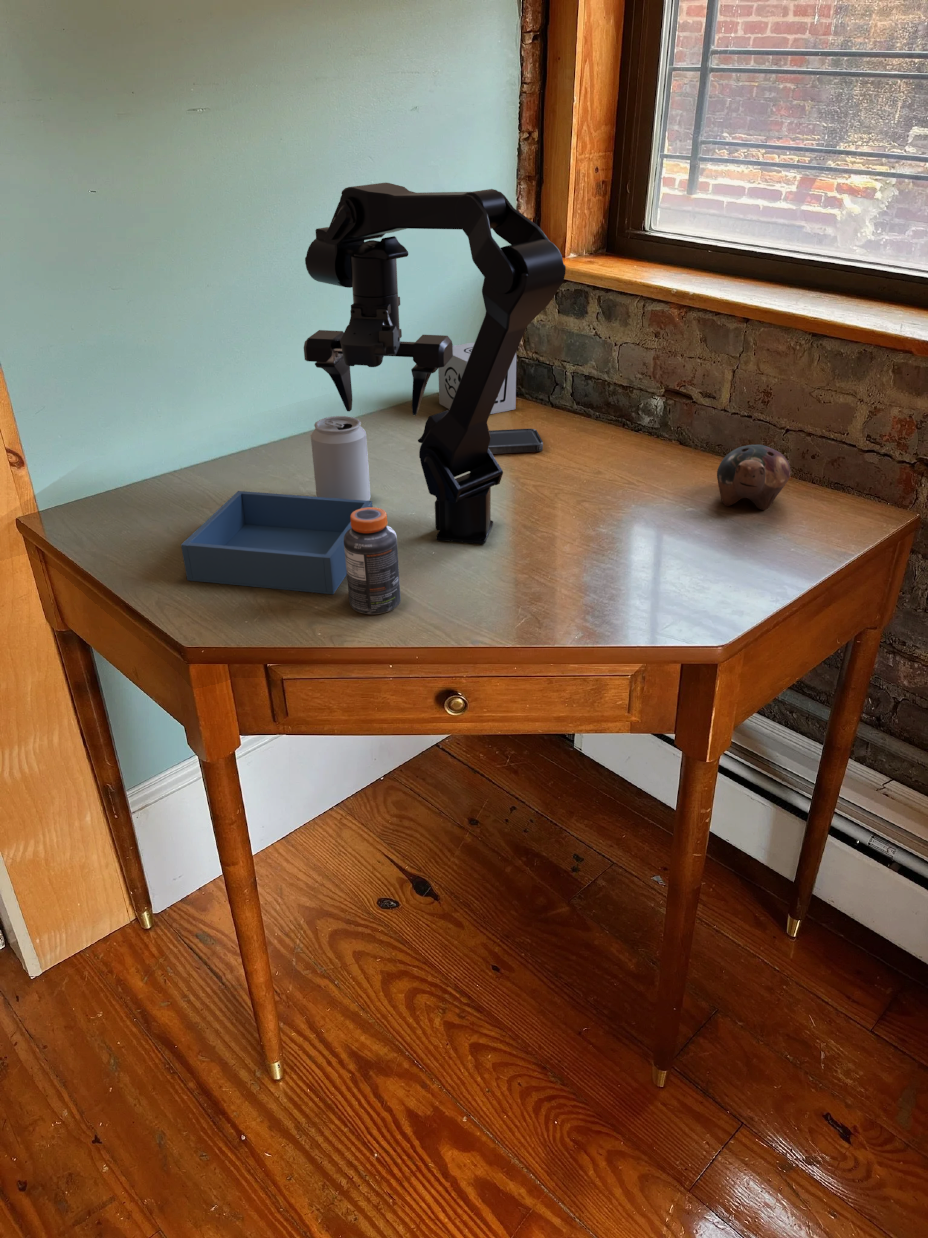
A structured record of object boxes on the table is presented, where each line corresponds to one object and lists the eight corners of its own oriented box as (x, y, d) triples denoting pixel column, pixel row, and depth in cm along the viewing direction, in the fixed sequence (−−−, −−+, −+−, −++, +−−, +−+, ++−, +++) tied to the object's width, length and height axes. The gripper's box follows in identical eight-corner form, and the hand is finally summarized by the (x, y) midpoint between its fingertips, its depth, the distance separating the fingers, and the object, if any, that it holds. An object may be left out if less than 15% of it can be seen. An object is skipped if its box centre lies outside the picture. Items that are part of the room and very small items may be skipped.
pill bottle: (401, 590, 113) (396, 501, 107) (400, 615, 108) (395, 523, 102) (350, 591, 113) (343, 502, 107) (347, 616, 108) (339, 525, 102)
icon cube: (515, 409, 170) (516, 352, 165) (467, 418, 166) (466, 361, 161) (486, 394, 178) (486, 340, 172) (439, 403, 173) (437, 348, 168)
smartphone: (544, 444, 151) (449, 449, 149) (544, 451, 151) (449, 456, 150) (535, 427, 158) (444, 432, 156) (535, 434, 158) (444, 438, 157)
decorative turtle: (711, 518, 129) (715, 461, 126) (718, 484, 142) (722, 430, 139) (786, 523, 126) (793, 464, 123) (787, 487, 139) (793, 433, 136)
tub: (374, 534, 126) (372, 500, 124) (333, 594, 112) (329, 557, 110) (242, 523, 130) (238, 490, 127) (187, 580, 116) (180, 544, 113)
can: (362, 516, 131) (355, 432, 125) (310, 512, 132) (301, 429, 126) (377, 495, 137) (372, 414, 131) (327, 491, 139) (320, 411, 133)
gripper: (282, 304, 116) (295, 428, 124) (431, 309, 112) (435, 437, 120) (313, 285, 125) (323, 401, 133) (452, 289, 122) (454, 409, 130)
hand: (382, 412), depth 129 cm, fingers open, 9 cm apart
